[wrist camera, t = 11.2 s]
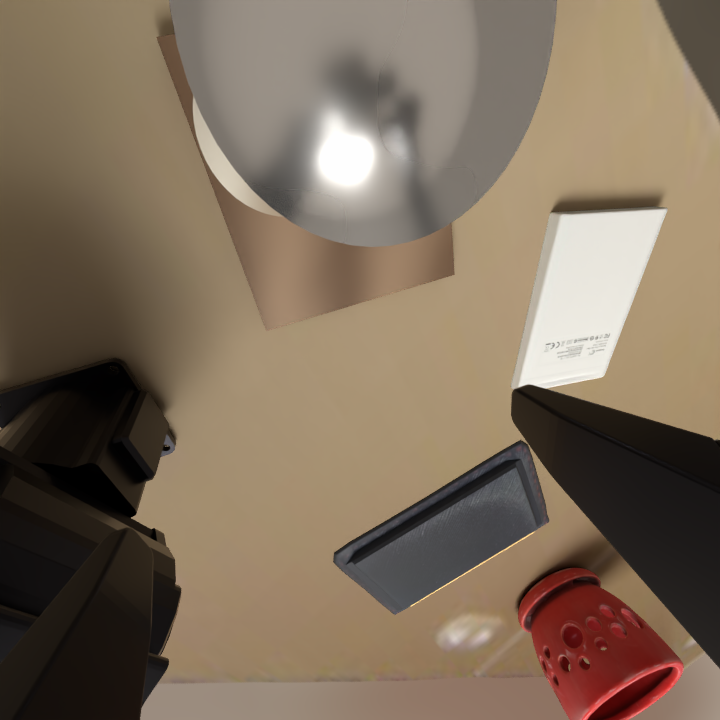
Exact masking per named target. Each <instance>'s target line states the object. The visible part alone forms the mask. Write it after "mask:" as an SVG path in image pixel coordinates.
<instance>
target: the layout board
mask: <svg viewBox="0 0 720 720" xmlns="http://www.w3.org/2000/svg"><path fill="white" fill-rule="evenodd" d="M157 40H158V43H159V45H160V48H161V51H162V53H163V56H164V59H165V61H166V64H167V67H168V69H169V72H170V75H171V77H172V80H173V83H174V85H175V88H176V91H177V93H178V96H179V99H180V101H181V104H182V107H183V109H184V112H185V115H186V117H187V120H188V123H189V125H190V128H191V131H192V133H193V136H194V139H195V141H196V144H197V147H198V149H199V152H200V155H201V157H202V160H203V163H204V165H205V168H206V171H207V173H208V176H209V179H210V181H211V184H212V187H213V189H214V192H215V195H216V197H217V200H218V203H219V205H220V208H221V211H222V213H223V216H224V219H225V221H226V224H227V227H228V229H229V232H230V235H231V237H232V240H233V243H234V245H235V248H236V251H237V253H238V256H239V259H240V261H241V264H242V267H243V270H244V272H245V275H246V278H247V280H248V283H249V286H250V288H251V291H252V294H253V296H254V299H255V302H256V304H257V307H258V310H259V312H260V315H261V318H262V320H263V323H264V326H265V328H266V331H268V330H272V329H275V328H278V327H282V326H285V325H288V324H292V323H295V322H298V321H302V320H305V319H308V318H312V317H315V316H318V315H322V314H325V313H328V312H332V311H335V310H338V309H342V308H345V307H348V306H352V305H355V304H358V303H362V302H365V301H368V300H372V299H375V298H378V297H382V296H385V295H388V294H392V293H395V292H398V291H402V290H405V289H408V288H412V287H415V286H418V285H421V284H425V283H428V282H431V281H435V280H438V279H441V278H445V277H448V276H451V275H454V259H453V242H452V225H451V223H450V224H448V225H447V226H445V227H444V228H442V229H440V230H438V231H436V232H434V233H432V234H430V235H428V236H425V237H422V238H419V239H416V240H414V241H411V242H407V243H402V244H397V245H392V246H379V247H366V246H354V245H348V244H344V243H339V242H335V241H331V240H328V239H326V238H323V237H320V236H318V235H315V234H312V233H310V232H308V231H307V230H305V229H303V228H301V227H299V226H297V225H295V224H294V223H292V222H290V221H289V220H288V219H286V218H285V217H283V216H282V215H281V214H279V213H278V212H276V211H275V210H274V209H272V208H271V207H270V206H269V205H268V204H267V203H266V202H264V201H263V200H262V199H261V198H260V197H259V196H258V195H257V194H256V193H255V192H254V191H253V190H252V189H251V188H250V187H249V186H248V185H247V183H246V182H245V181H244V180H243V179H242V178H241V176H240V175H239V174H238V173H237V172H236V171H235V169H234V168H233V167H232V165H231V164H230V162H229V161H228V159H227V158H226V156H225V155H224V154H223V152H222V151H221V149H220V148H219V146H218V145H217V143H216V141H215V139H214V138H213V136H212V134H211V132H210V130H209V128H208V126H207V125H206V123H205V121H204V119H203V117H202V115H201V113H200V111H199V108H198V106H197V103H196V101H195V98H194V96H193V93H192V91H191V89H190V86H189V84H188V81H187V78H186V74H185V71H184V67H183V64H182V61H181V57H180V54H179V51H178V47H177V43H176V37H175V34H171V35H165V36H160V37H157Z"/></svg>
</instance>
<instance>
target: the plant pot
mask: <svg viewBox="0 0 720 720" xmlns="http://www.w3.org/2000/svg"><path fill="white" fill-rule="evenodd" d="M518 619H519V623H520V625H521V627H522V628H523V629H524V630H525V631H526V632H529V633H532V638H533V643H534V647H535V650H536V654H537V657H538V659H539V662H540V664H541V667H542V669H543V671H544V674H545V676H546V678H547V680H548V682H549V683H550V685H551V687H552V688H553V690H554V692H555V694H556V695H557V697H558V699H559V701H560V703H561V705H562V707H563V709H564V711H565V712H566V714H567V716H568V717H569V719H570V720H629V719H630V718H632V717H634V716H635V715H637V714H639V713H640V712H642V711H643V710H645V709H646V708H648V707H649V706H650V705H652V704H653V703H654V702H655V701H657V700H658V699H659V698H661V697H662V696H663V695H664V694H665V693H667V692H668V691H669V690H670V689H671V688H672V687H673V686H674V685H675V684H676V682H677V681H678V680H679V678H680V677H681V675H682V672H683V668H684V666H683V663H682V661H681V660H680V658H679V657H678V656H677V655H676V654H675V653H674V652H673V651H672V649H671V648H670V647H669V646H668V645H667V644H666V643H665V642H664V641H663V640H662V639H661V638H660V637H659V636H658V634H657V633H656V632H655V631H654V630H653V629H652V628H651V627H650V626H649V625H648V624H647V623H646V622H645V621H644V620H643V619H642V618H641V617H639V616H638V615H637V614H636V613H635V612H634V611H633V610H632V609H631V608H630V607H628V606H627V605H626V604H625V603H623V602H622V601H621V600H620V599H618V598H617V597H615V596H614V595H612V594H611V593H609V592H607V591H606V590H604V589H602V588H600V579H599V578H598V576H597V575H595V574H594V573H593V572H591V571H589V570H586V569H582V568H568V569H564V570H561V571H558V572H555V573H553V574H551V575H549V576H547V577H545V578H544V579H542V580H541V581H539V582H538V583H537V584H535V585H534V586H533V587H532V588H531V589H530V590H529V591H528V593H527V594H526V595H525V597H524V598H523V599H522V600H521V604H520V607H519V611H518ZM632 622H633V623H634V624H635V625H636V626H635V625H634V624H633V623H632ZM601 648H607V649H606V650H601ZM583 658H586V659H587V660H588V661H589V663H590V664H587V663H585V662H584V660H583ZM569 664H570V667H571V669H570V671H569V669H568V665H569Z"/></svg>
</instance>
